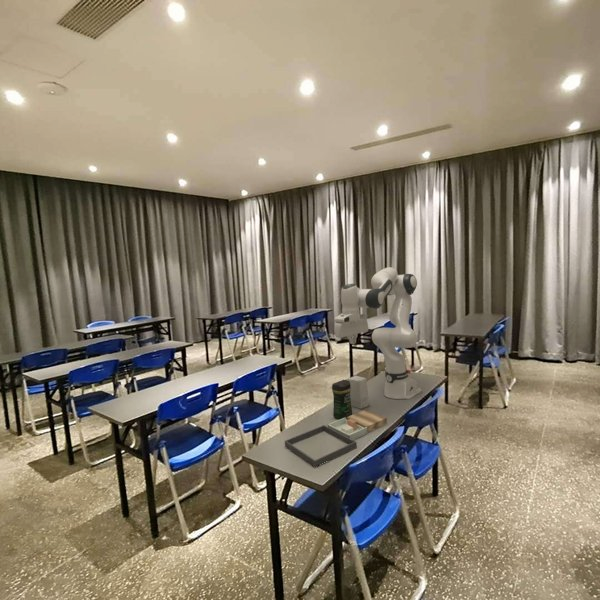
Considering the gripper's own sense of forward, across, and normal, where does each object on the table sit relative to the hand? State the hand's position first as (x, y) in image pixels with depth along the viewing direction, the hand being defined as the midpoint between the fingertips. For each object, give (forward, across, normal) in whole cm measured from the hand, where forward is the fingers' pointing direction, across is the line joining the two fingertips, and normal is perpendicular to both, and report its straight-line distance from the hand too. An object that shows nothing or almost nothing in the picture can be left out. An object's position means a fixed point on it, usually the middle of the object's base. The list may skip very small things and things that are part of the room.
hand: (352, 343), depth 183 cm
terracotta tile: (+35, +14, +12) cm, 39 cm away
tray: (+37, +18, +12) cm, 43 cm away
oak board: (+37, +6, +12) cm, 39 cm away
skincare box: (+37, -7, -6) cm, 38 cm away
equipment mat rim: (+37, +36, +14) cm, 53 cm away
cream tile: (+35, +18, +12) cm, 41 cm away
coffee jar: (+37, +8, -2) cm, 38 cm away
